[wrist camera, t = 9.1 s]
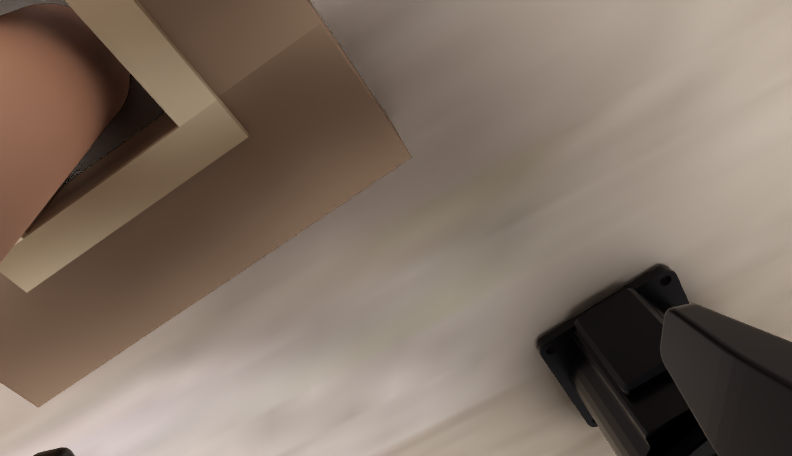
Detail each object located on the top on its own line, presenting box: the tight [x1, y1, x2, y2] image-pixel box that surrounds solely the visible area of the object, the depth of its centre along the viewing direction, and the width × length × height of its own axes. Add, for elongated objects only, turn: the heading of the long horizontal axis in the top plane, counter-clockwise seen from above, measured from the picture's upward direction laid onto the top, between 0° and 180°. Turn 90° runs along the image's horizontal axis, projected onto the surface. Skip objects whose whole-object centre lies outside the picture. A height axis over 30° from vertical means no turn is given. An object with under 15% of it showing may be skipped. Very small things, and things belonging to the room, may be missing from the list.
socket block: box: [0, 0, 411, 407], centre depth 15 cm, size 14×14×4 cm
